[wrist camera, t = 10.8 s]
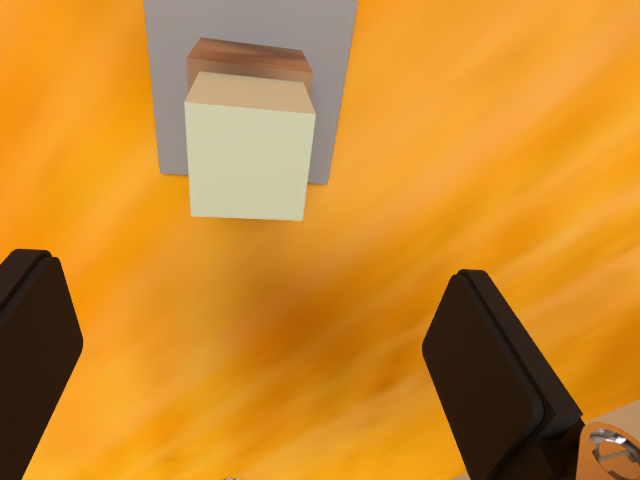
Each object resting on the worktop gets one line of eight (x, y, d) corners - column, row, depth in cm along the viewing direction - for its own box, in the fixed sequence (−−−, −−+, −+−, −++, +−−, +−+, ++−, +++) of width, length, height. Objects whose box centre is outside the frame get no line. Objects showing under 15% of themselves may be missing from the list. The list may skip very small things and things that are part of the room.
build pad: (355, 0, 24) (358, 1, 23) (325, 179, 31) (327, 184, 30) (143, -34, 22) (140, -33, 21) (162, 168, 28) (159, 173, 28)
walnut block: (301, 50, 24) (313, 73, 20) (292, 143, 28) (299, 182, 23) (200, 37, 23) (186, 57, 18) (203, 135, 27) (191, 175, 22)
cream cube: (303, 82, 20) (315, 114, 16) (293, 173, 23) (302, 220, 19) (199, 71, 19) (184, 102, 15) (203, 168, 22) (190, 216, 18)
